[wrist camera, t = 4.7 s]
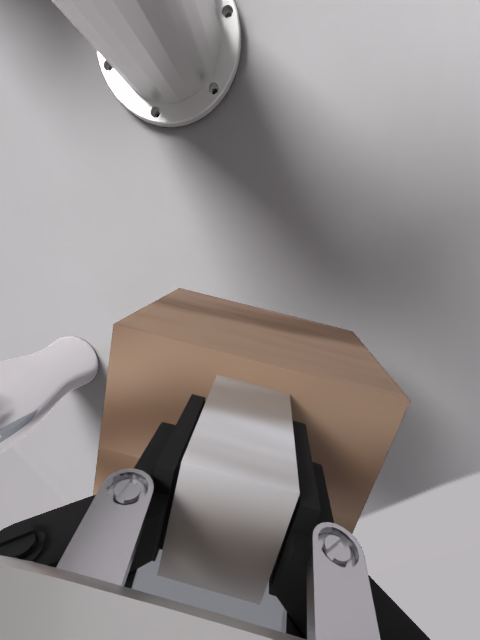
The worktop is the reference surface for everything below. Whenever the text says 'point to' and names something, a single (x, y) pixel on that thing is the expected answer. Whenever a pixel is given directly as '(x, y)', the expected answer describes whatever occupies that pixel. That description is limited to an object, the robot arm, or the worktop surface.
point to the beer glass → (41, 384)
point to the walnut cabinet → (244, 427)
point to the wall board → (210, 598)
